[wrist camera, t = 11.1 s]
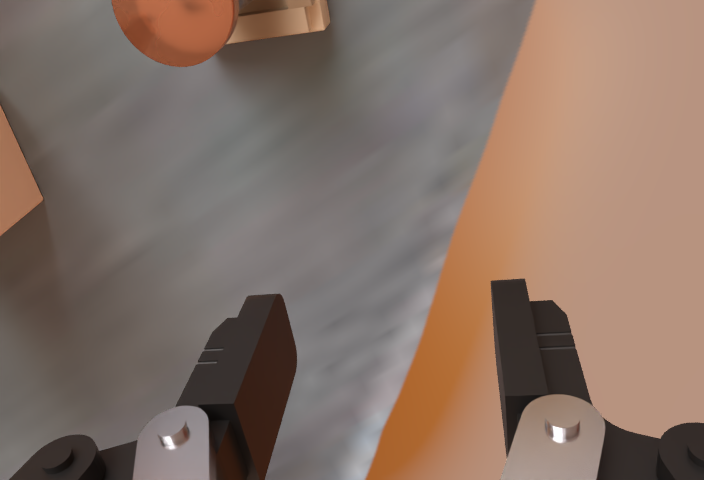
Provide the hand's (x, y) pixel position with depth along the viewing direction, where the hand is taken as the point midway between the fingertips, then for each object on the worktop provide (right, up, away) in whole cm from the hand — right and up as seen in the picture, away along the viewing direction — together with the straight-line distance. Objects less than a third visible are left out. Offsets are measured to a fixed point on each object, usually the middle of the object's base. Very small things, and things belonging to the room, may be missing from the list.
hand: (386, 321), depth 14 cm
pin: (-6, +15, +17) cm, 24 cm away
